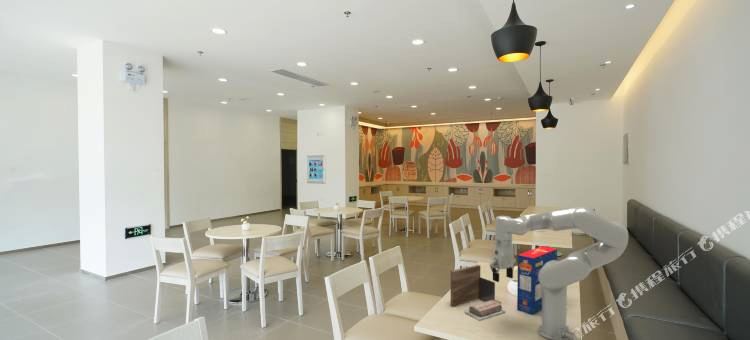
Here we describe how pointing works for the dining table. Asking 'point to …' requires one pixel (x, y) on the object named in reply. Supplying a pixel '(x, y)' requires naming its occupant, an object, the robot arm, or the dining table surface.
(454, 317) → the dining table surface
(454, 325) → the dining table surface
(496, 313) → the packaged product
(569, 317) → the dining table surface
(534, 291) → the pasta box
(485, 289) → the bookend
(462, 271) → the shelf panel
